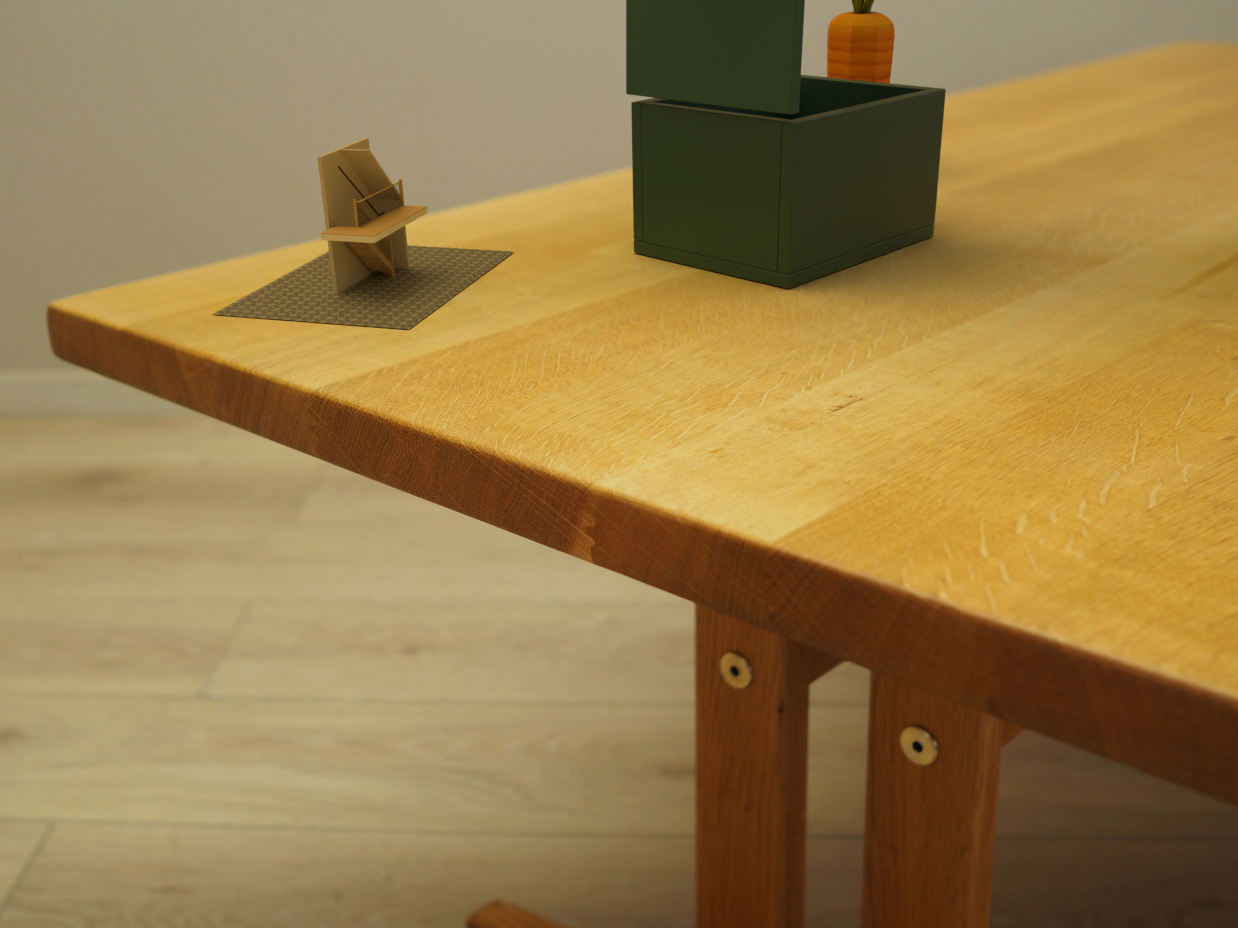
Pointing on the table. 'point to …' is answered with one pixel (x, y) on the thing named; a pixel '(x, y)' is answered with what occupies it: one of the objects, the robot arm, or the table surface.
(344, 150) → the architectural model
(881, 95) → the bin
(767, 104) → the bin lid
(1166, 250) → the table surface
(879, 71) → the carrot
